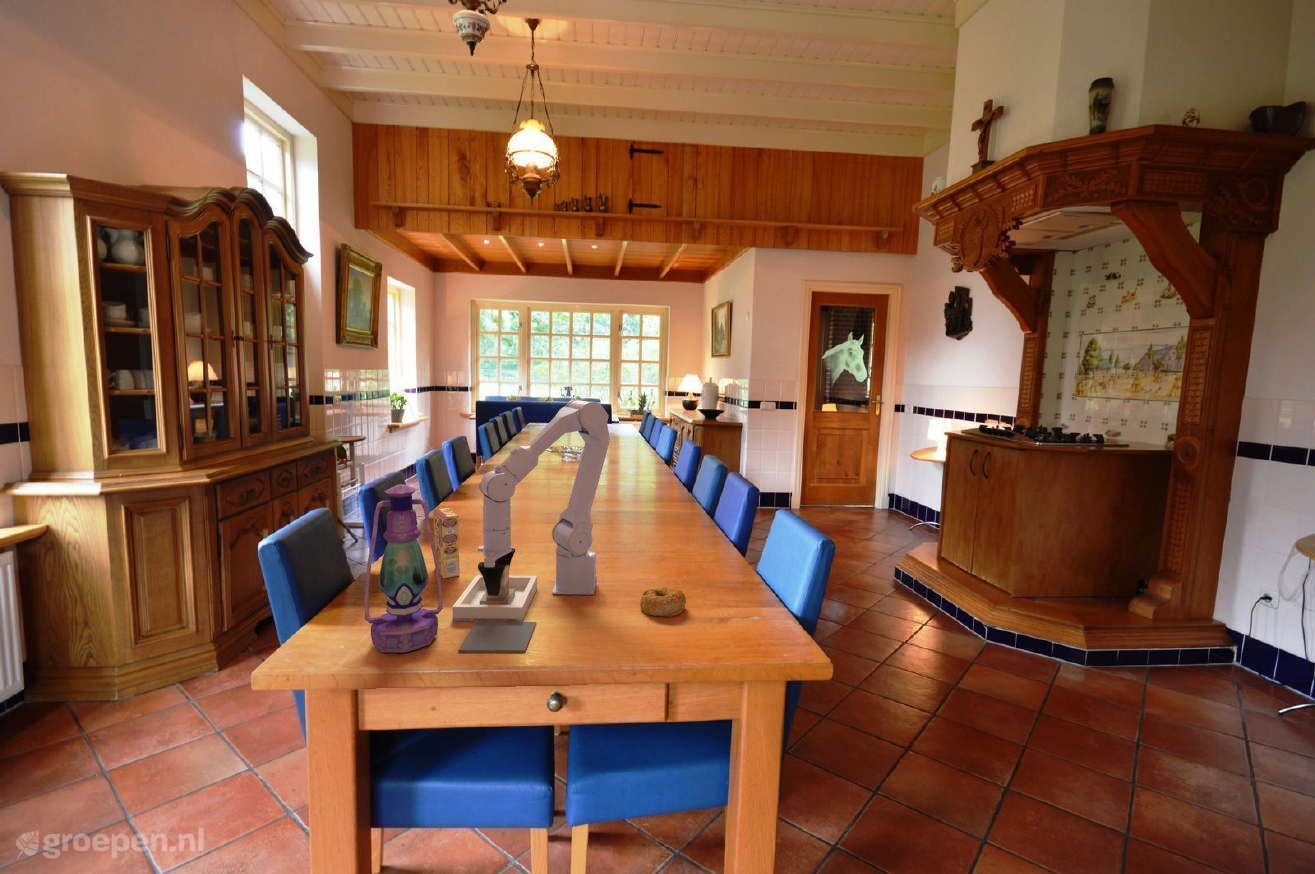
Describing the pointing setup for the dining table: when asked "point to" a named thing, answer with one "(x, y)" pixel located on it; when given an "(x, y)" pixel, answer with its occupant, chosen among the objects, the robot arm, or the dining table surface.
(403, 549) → the lantern
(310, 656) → the dining table surface
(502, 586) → the maple block
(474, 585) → the tray
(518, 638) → the rubber mat
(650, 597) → the bagel
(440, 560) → the candy box
